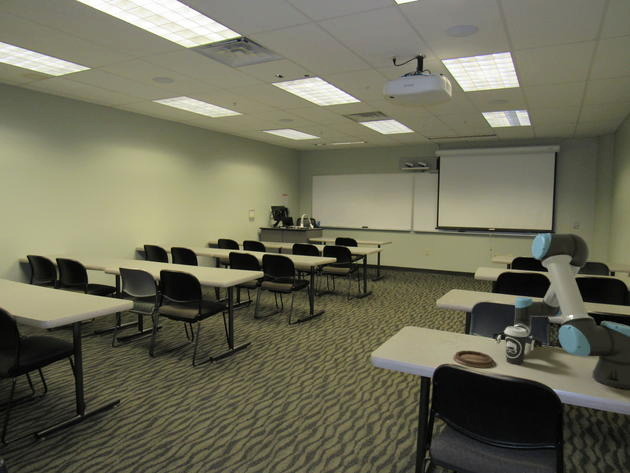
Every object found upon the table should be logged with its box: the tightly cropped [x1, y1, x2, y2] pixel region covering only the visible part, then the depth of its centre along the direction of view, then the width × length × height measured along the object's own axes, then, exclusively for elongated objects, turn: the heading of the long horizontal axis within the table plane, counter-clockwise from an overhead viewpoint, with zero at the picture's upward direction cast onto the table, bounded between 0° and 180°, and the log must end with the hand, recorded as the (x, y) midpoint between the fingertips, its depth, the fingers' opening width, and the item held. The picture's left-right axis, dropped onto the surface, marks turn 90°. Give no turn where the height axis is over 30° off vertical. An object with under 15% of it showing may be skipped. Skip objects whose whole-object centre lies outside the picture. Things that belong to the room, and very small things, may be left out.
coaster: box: [453, 350, 495, 369], centre depth 179 cm, size 17×17×2 cm
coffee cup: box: [503, 326, 528, 366], centre depth 178 cm, size 10×10×15 cm
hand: (514, 344), depth 177 cm, fingers open, 13 cm apart
